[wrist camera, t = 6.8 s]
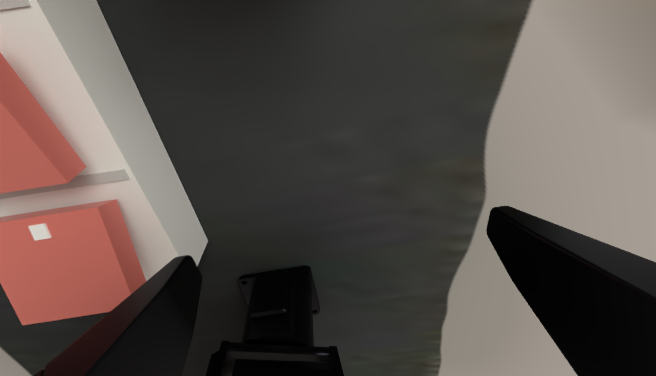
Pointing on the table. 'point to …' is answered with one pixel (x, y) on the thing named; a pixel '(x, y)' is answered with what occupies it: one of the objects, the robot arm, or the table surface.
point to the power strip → (98, 127)
